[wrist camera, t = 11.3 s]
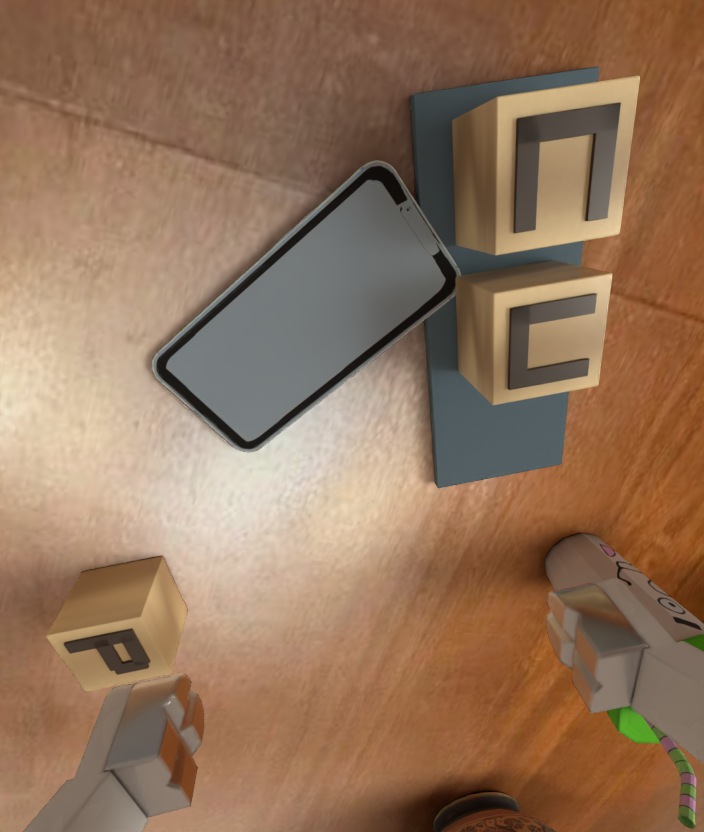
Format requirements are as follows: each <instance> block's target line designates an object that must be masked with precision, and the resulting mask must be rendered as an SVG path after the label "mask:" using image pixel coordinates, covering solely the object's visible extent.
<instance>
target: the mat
mask: <svg viewBox="0 0 704 832" xmlns="http://www.w3.org/2000/svg"><path fill="white" fill-rule="evenodd" d="M598 77H599V67H591V68H584V69H578V70H571V71H564V72H557V73H551V74H544V75H537V76H530V77H523V78H517V79H510V80H503V81H496V82H490V83H483V84H476V85H469V86H463V87H456V88H449V89H442V90H435V91H429V92H422V93H415V94H413V95H412V96H411V97H410V105H411V120H412V136H413V151H414V166H415V182H416V197H417V204H418V205H419V207H420V209H421V210H422V212H423V213H424V215H425V216H426V218H427V219H428V221H429V223H430V224H431V226H432V227H433V229H434V230H435V232H436V234H437V235H438V237H439V238H440V240H441V241H442V243H443V244H444V246H445V248H446V249H447V251H448V252H449V254H450V255H451V257H452V258H453V260H454V262H455V263H456V265H457V266H458V268H459V270H460V273H461V276H462V275H468V274H474V273H480V272H486V271H492V270H497V269H503V268H509V267H515V266H521V265H527V264H533V263H539V262H545V261H550V260H554V261H559V262H563V263H568V264H573V265H577V266H581V256H582V245H583V241H579V242H573V243H567V244H561V245H555V246H549V247H543V248H538V249H532V250H526V251H520V252H514V253H508V254H502V255H493V254H489V253H485V252H481V251H477V250H473V249H469V248H465V247H461V246H457V245H456V238H455V203H454V169H453V135H452V120H453V119H455V118H457V117H459V116H461V115H463V114H465V113H467V112H469V111H471V110H473V109H475V108H477V107H478V106H480V105H482V104H484V103H486V102H488V101H490V100H492V99H494V98H496V97H498V96H504V95H511V94H517V93H524V92H531V91H538V90H544V89H551V88H558V87H565V86H571V85H578V84H585V83H591V82H598ZM425 335H426V350H427V366H428V381H429V396H430V412H431V427H432V442H433V458H434V473H435V484H436V486H437V487H438V488H442V487H447V486H452V485H457V484H462V483H468V482H473V481H478V480H483V479H488V478H493V477H499V476H504V475H509V474H514V473H519V472H524V471H529V470H535V469H540V468H545V467H550V466H555V465H560V464H562V456H563V446H564V435H565V425H566V414H567V403H568V393H569V391H568V392H562V393H557V394H551V395H546V396H541V397H535V398H530V399H525V400H519V401H514V402H508V403H503V404H498V405H492V404H491V403H490V402H489V401H488V400H487V399H486V398H485V397H484V396H483V395H482V394H481V393H480V392H479V391H478V390H477V389H476V388H475V387H474V386H473V385H472V384H471V383H470V382H469V381H468V380H467V379H466V378H465V377H464V376H463V375H462V374H461V373H460V372H459V371H458V344H457V312H456V295H455V296H454V297H453V298H452V299H451V300H450V301H448V302H447V303H446V304H444V305H443V306H442V307H441V308H439V309H438V310H437V311H436V312H434V313H433V314H432V315H430V316H429V317H428V318H427V319H425Z"/></svg>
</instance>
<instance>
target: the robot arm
mask: <svg viewBox="0 0 704 832" xmlns="http://www.w3.org/2000/svg"><path fill="white" fill-rule="evenodd" d="M547 604H548V606H549V608H550V609H551V612H550V613H549V614H548V616H547V617H546V630H547V634H548V637H549V641H550V643H551V645H552V648H553V650H554V652H555V654H556V655H557V657H558V659H559V661H560V662H561V663H563V664H564V665H566V666H568V667H569V668H571V669H572V670H573V675H572V683H573V684H574V686H575V688H576V689H577V691H578V693H579V694H580V696H581V698H582V699H583V701H584V703H585V704H586V706H587V708H588V709H589V711H590V713H596V712H601V711H606V710H611V709H616V708H621V707H626V706H631V705H632V706H631V708H632V709H633V710H634V711H636V712H637V713H638V714H639V715H641V716H642V717H643V718H645V719H646V720H647V721H649V722H650V723H651V724H652V725H654V726H655V727H656V728H658V729H659V730H660V731H662V732H663V733H664V734H665V735H667V736H668V737H669V738H671V739H672V740H673V741H674V742H676V743H677V744H678V745H680V746H681V747H682V748H684V749H685V750H686V751H687V752H689V753H690V754H691V755H693V756H694V757H695V758H697V759H698V760H699V761H700V762H702V763H703V764H704V651H702V650H700V649H698V648H696V647H694V646H692V645H690V644H689V643H687V642H685V641H679V642H676V641H675V640H674V639H673V638H672V637H671V636H670V635H669V633H668V632H667V631H666V630H665V629H664V628H663V627H662V626H661V624H660V623H659V622H658V621H657V620H656V619H655V618H654V617H653V616H652V614H651V613H650V612H649V611H648V610H647V609H646V608H645V607H644V605H643V604H642V603H641V602H640V601H639V600H638V599H637V598H636V596H635V595H634V594H633V593H632V592H631V591H630V590H629V589H628V588H627V586H626V585H625V584H624V583H623V582H622V581H621V580H619V579H617V578H610V579H606V580H602V581H598V582H594V583H591V582H590V583H586V584H582V585H577V586H573V587H569V588H565V589H561V590H556V591H552V592H550V593H549V594H548V597H547ZM190 687H191V680H190V679H189V677H188V675H187V674H186V673H183V674H178V675H173V676H168V677H163V678H158V679H153V680H148V681H143V682H137V683H132V684H127V685H123V686H118V687H114V688H112V689H111V691H110V692H109V693H108V695H107V696H106V698H105V700H104V703H103V705H102V708H101V710H100V713H99V716H98V718H97V721H96V723H95V726H94V729H93V731H92V734H91V736H90V739H89V741H88V744H87V747H86V749H85V752H84V754H83V757H82V760H81V762H80V765H79V767H78V770H77V772H76V775H75V778H74V779H71V780H67V781H66V782H65V783H64V784H63V785H62V786H61V788H60V789H59V790H58V791H57V792H56V793H55V795H54V796H53V797H52V798H51V799H50V800H49V802H48V803H47V804H46V805H45V806H44V807H43V809H42V810H41V811H40V812H39V813H38V814H37V816H36V817H35V818H34V819H33V820H32V821H31V823H30V824H29V825H28V826H27V827H26V828H25V830H24V831H23V832H142V831H143V829H144V828H145V826H146V824H147V822H148V817H152V816H156V815H160V814H163V813H167V812H171V811H175V810H179V809H182V808H186V807H190V806H191V802H192V796H193V791H194V785H195V779H196V774H197V768H198V767H197V765H196V763H195V761H194V759H193V757H192V756H193V755H194V753H195V752H196V750H197V749H198V748H199V746H200V745H201V743H202V738H203V732H204V709H203V705H202V701H201V699H200V697H199V695H198V694H196V693H194V692H192V691H190Z"/></svg>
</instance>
